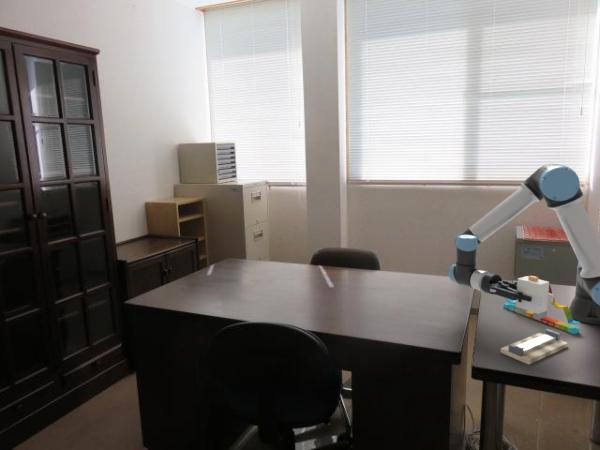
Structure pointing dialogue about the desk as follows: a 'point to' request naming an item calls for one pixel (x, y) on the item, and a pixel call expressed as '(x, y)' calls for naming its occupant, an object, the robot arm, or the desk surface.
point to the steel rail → (534, 343)
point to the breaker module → (534, 288)
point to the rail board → (536, 350)
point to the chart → (546, 319)
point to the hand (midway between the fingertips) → (547, 300)
